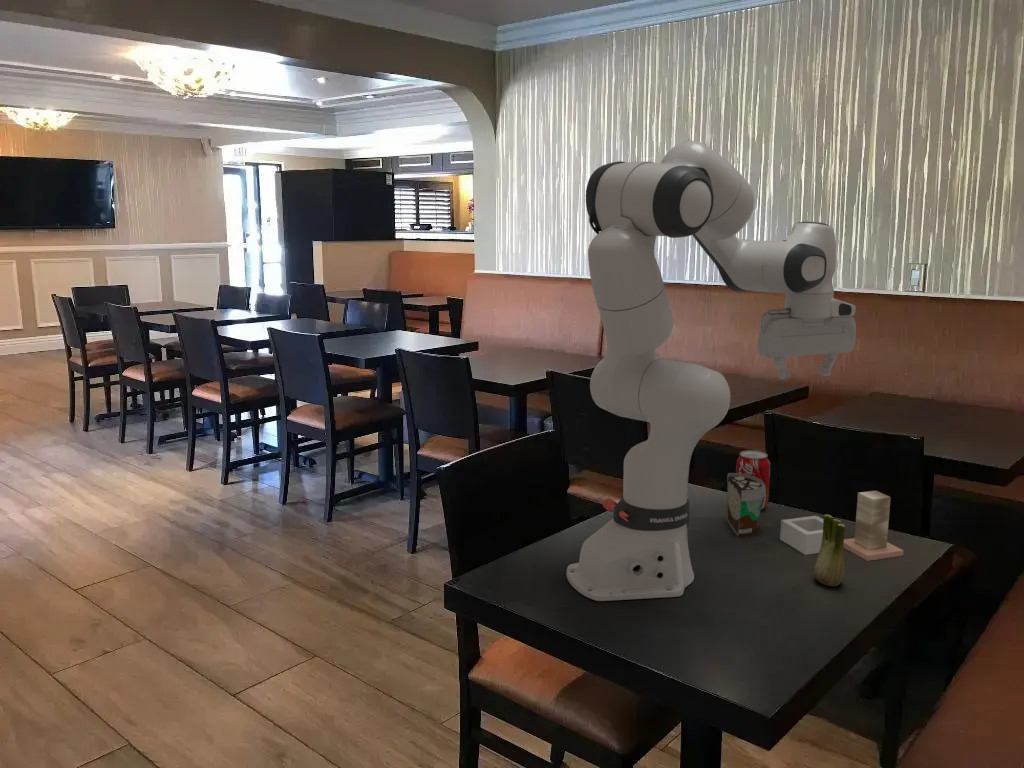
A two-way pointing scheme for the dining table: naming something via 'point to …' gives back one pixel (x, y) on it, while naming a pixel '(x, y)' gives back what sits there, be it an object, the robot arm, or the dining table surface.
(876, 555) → the terracotta tile
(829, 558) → the fennel bulb
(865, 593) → the dining table surface
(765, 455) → the soda can
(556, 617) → the dining table surface
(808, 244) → the robot arm
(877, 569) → the dining table surface
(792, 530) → the pocket collar
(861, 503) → the ash peg
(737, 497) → the food container
